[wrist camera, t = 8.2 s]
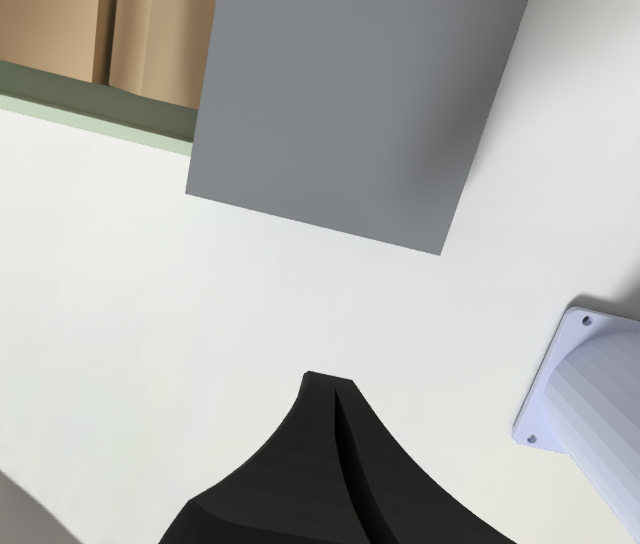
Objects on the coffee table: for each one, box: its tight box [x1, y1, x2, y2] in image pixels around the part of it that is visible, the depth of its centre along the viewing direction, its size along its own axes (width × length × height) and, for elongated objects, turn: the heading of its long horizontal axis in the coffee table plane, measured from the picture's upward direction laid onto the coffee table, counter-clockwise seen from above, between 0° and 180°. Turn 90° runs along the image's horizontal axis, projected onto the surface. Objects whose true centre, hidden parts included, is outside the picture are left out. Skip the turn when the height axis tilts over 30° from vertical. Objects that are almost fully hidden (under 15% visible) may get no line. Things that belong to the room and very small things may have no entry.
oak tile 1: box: [109, 0, 216, 110], centre depth 16 cm, size 4×4×2 cm
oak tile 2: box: [0, 0, 117, 87], centre depth 17 cm, size 4×4×2 cm
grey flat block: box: [185, 0, 528, 256], centre depth 17 cm, size 10×10×4 cm
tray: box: [0, 60, 198, 156], centre depth 17 cm, size 10×8×2 cm
